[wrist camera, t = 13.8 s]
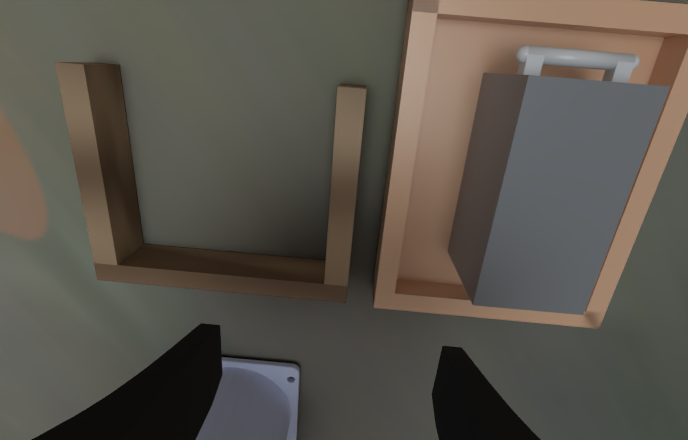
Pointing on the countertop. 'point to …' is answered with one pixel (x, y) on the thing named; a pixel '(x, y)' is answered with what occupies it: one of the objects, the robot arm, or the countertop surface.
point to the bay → (188, 263)
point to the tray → (457, 121)
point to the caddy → (549, 178)
